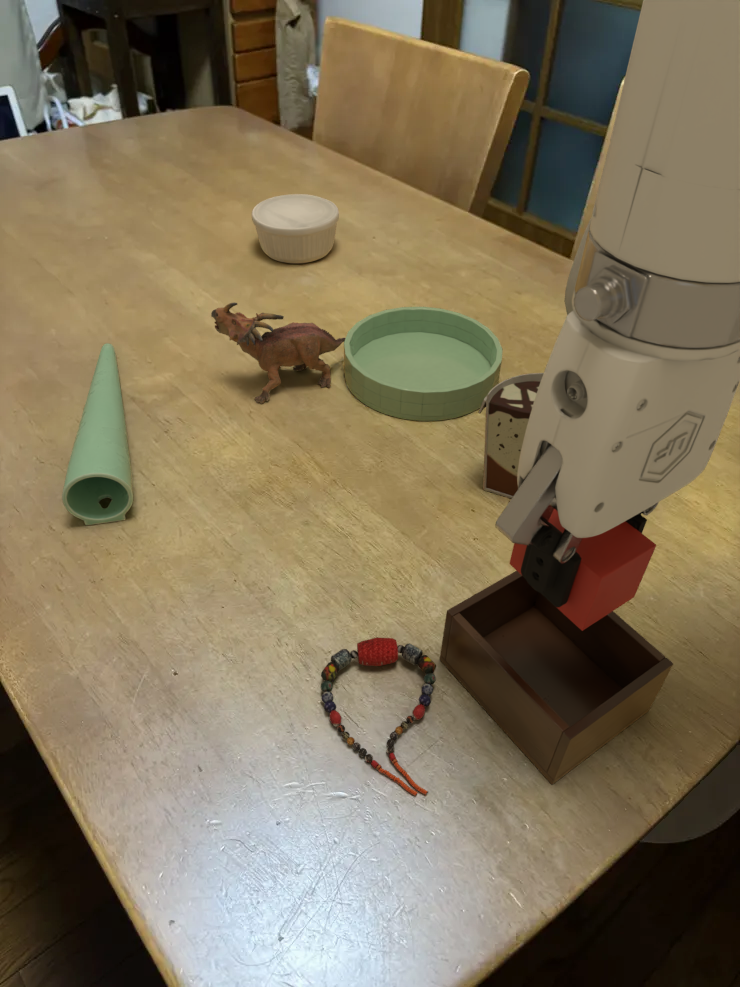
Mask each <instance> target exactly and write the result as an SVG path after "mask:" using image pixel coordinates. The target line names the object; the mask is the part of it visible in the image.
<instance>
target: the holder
mask: <svg viewBox="0 0 740 987" xmlns="http://www.w3.org/2000/svg"><path fill="white" fill-rule="evenodd" d="M443 626H444V627H443V634H442V640H441V647H440V653H439V654H440V655H439V660H440V662H441V663H442V664H443V665H444V666H445V667H446V668H447V670H448V671H449V672H450V673H451V674H452V675H453V676H454V677H455V678H456V680H457V681H458V682H459V683H460V684H461V685H462V686H463V687H464V688H465V689H466V691H467V692H468V693H469V694H470V695H471V696H472V698H474V700H475V701H476V702H477V703H478V704H479V705H480V706H481V707H482V709H483V710H484V711H485V712H486V713H487V715H489V717H490V718H491V719H492V720H493V721H494V722H495V723H496V724H497V725H498V726H499V727H500V729H501V730H502V731H503V732H504V733H505V734H506V736H508V738H509V739H510V740H511V742H513V743H514V745H516V746H517V748H519V750H520V751H521V752H522V753H523V754H524V755H525V757H526V758H527V759H528V760H529V761H530V762H531V763H532V764H533V766H534V767H535V768H536V769H537V770H538V771H539V772H540V773H541V774H542V775H543V777H544V778H545V779H546V780H547V781H548V782H549V783H550V784H551V785H554V784H555V783H557V782H558V781H559V780H560V779H562V778H563V777H564V776H566V775H567V774H569V772H571V771H572V770H574V769H575V768H576V767H578V766H579V765H580V764H582V763H583V762H584V761H585V760H587V759H588V758H589V757H591V756H592V755H593V754H595V753H596V752H597V751H598V750H600V749H601V748H603V747H604V746H606V745H607V744H608V743H609V742H611V741H612V740H613V739H614V738H616V737H617V736H618V735H619V734H621V733H622V732H623V731H625V730H626V729H627V728H629V727H630V726H632V725H633V724H634V723H635V722H637V721H638V720H640V718H642V717H643V716H644V715H646V714H647V713H649V712H650V709H651V708H652V707H653V704H654V702H655V700H656V699H657V696H658V695H659V693H660V691H661V689H662V687H663V685H664V683H665V681H666V680H667V678H668V675H669V674H670V672H671V670H672V667H673V666H674V662H672V661H671V660H670V659H669V658H668V657H667V656H666V655H665V654H663V653H662V652H661V651H659V649H658V648H656V647H655V646H654V645H653V644H652V643H651V642H650V641H648V640H647V639H646V638H645V637H644V636H642V635H641V634H640V633H639V632H638V631H637V630H636V629H634V628H633V627H632V626H631V625H630V624H629V623H627V622H626V621H625V620H624V619H623V618H622V617H620V616H619V615H618V613H616V612H615V611H612V612H611V613H609V614H607V615H606V616H604V617H603V618H601V619H600V620H598V621H597V622H595V623H594V624H592V625H591V626H589V627H587V628H586V629H584V630H583V631H582V630H581V629H579V628H578V627H577V626H576V625H575V624H574V623H573V622H572V621H571V620H570V619H569V618H568V617H566V616H565V615H564V614H563V613H562V612H561V611H560V610H559V609H558V608H557V607H555V606H554V605H553V604H552V603H551V602H550V601H549V600H548V599H547V598H545V597H544V596H543V595H542V594H541V593H539V592H537V591H536V590H535V589H533V588H532V587H531V586H530V585H529V584H528V582H527V581H526V579H525V578H524V577H523V576H522V575H521V574H520V573H519V572H518V571H517V570H515V571H513V572H511V573H510V574H507V575H506V576H505V577H502V578H501V579H499V580H497V581H496V582H494V583H492V584H491V585H489V586H487V587H485V588H483V589H482V590H479V591H478V592H477V593H475V594H473V595H472V596H469V597H468V598H466V599H464V600H463V601H461V602H459V603H457V604H456V605H454V606H452V607H450V608H449V609H447V610H446V614H445V620H444V625H443Z"/></svg>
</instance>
